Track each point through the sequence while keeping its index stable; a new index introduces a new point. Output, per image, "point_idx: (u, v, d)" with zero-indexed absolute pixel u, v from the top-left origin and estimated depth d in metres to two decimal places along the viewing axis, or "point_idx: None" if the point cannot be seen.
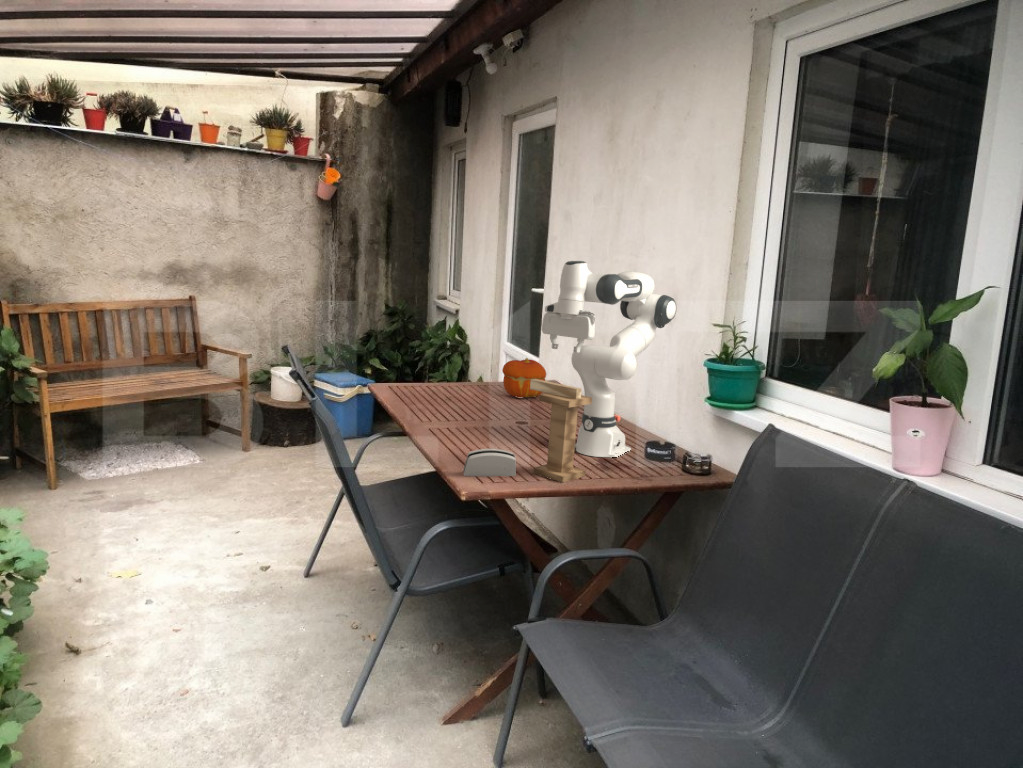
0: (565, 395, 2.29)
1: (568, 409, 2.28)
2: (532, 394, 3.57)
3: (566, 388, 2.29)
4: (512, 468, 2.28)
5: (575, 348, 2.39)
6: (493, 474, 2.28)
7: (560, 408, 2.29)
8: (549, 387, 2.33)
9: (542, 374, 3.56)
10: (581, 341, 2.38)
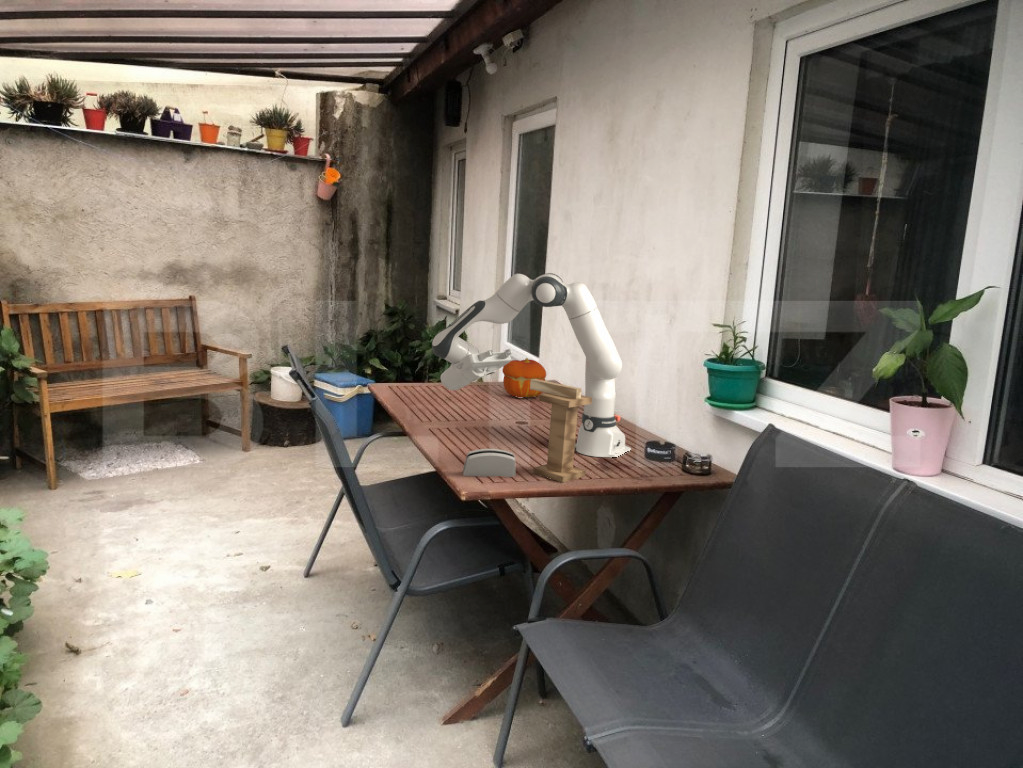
0: (565, 395, 2.29)
1: (568, 409, 2.28)
2: (532, 394, 3.57)
3: (566, 388, 2.29)
4: (511, 468, 2.28)
5: (489, 356, 2.45)
6: (493, 475, 2.28)
7: (560, 408, 2.29)
8: (549, 387, 2.33)
9: (542, 374, 3.56)
10: (480, 357, 2.45)
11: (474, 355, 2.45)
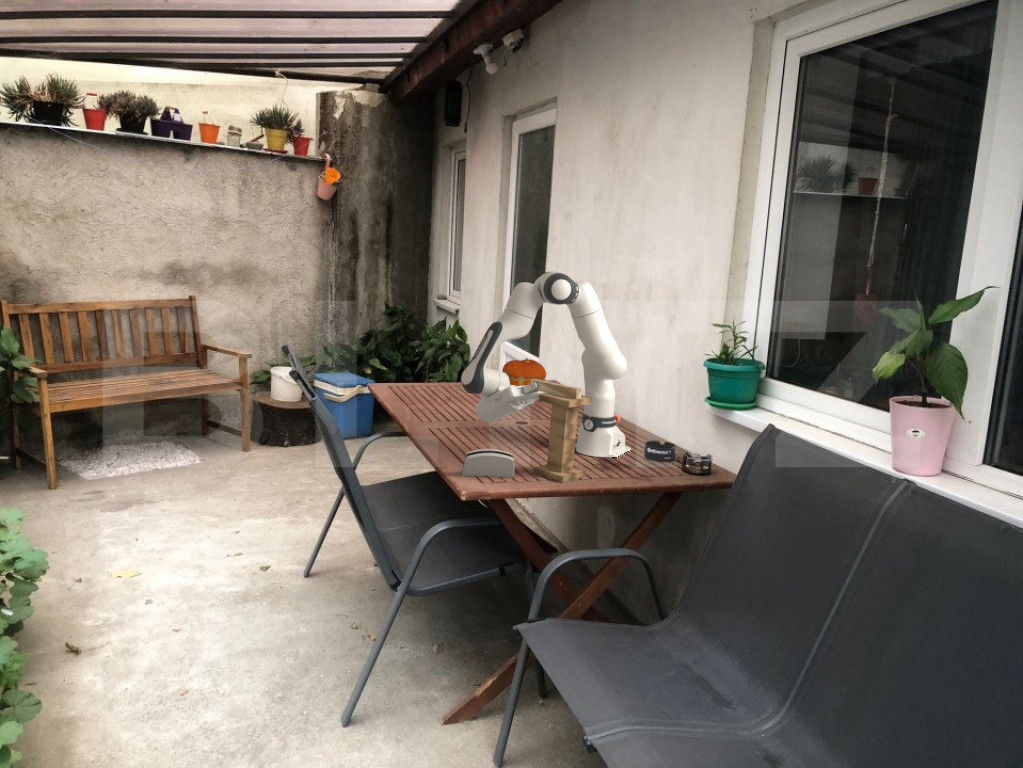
0: (565, 395, 2.29)
1: (568, 409, 2.28)
2: None
3: (566, 388, 2.29)
4: (510, 469, 2.27)
5: (535, 388, 2.36)
6: (492, 475, 2.28)
7: (560, 408, 2.29)
8: (549, 387, 2.33)
9: (542, 374, 3.56)
10: (526, 390, 2.37)
11: (513, 388, 2.34)
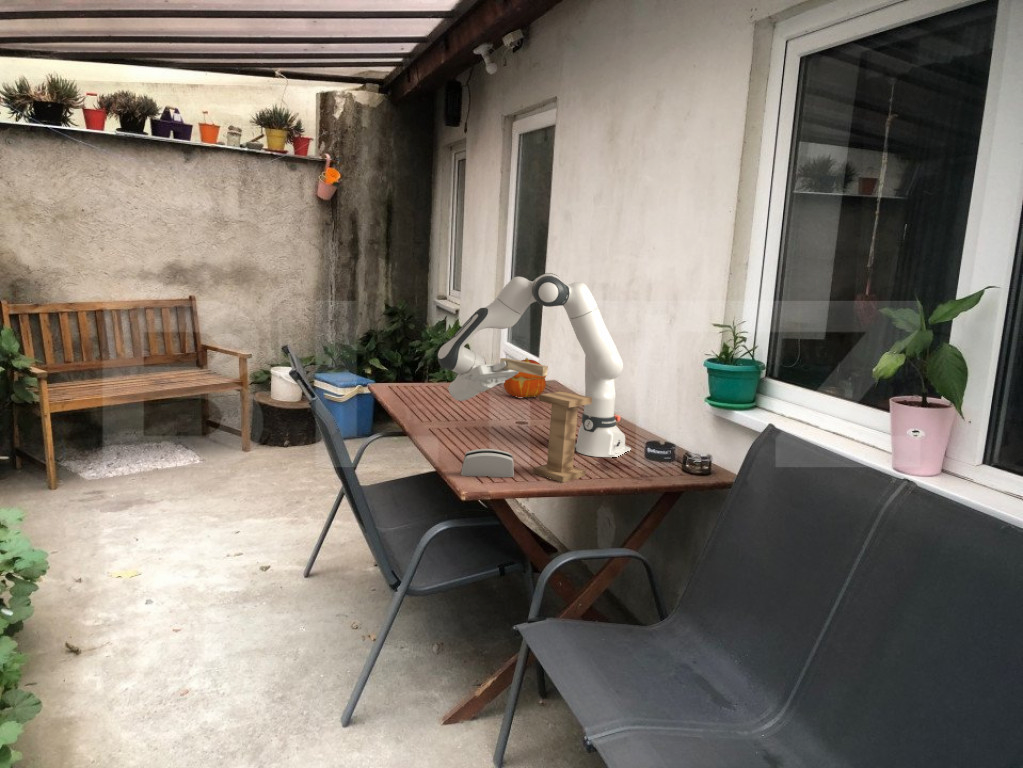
0: (532, 373, 2.37)
1: (568, 409, 2.28)
2: (532, 394, 3.57)
3: (533, 366, 2.37)
4: (509, 469, 2.27)
5: (504, 367, 2.44)
6: (491, 475, 2.28)
7: (560, 408, 2.29)
8: (517, 365, 2.41)
9: None
10: (495, 368, 2.45)
11: (483, 366, 2.42)
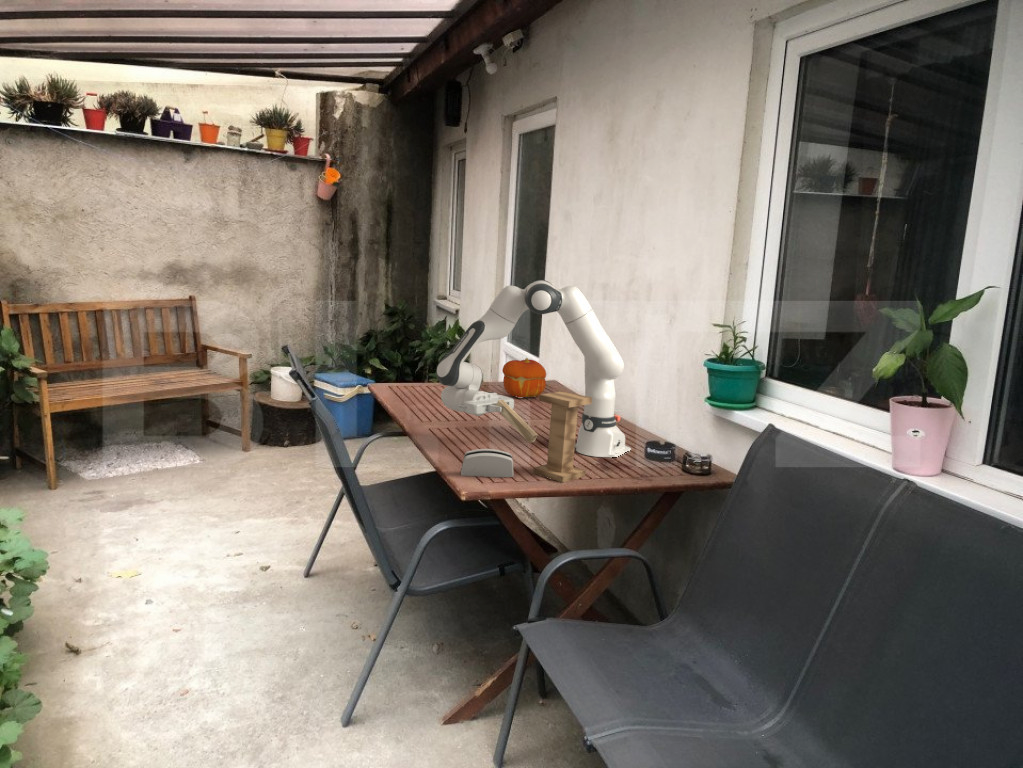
0: (522, 434, 2.42)
1: (568, 409, 2.28)
2: (532, 394, 3.57)
3: (525, 429, 2.41)
4: (509, 469, 2.27)
5: None
6: (490, 475, 2.27)
7: (560, 408, 2.29)
8: (511, 418, 2.45)
9: (542, 374, 3.56)
10: (490, 409, 2.48)
11: (479, 406, 2.45)
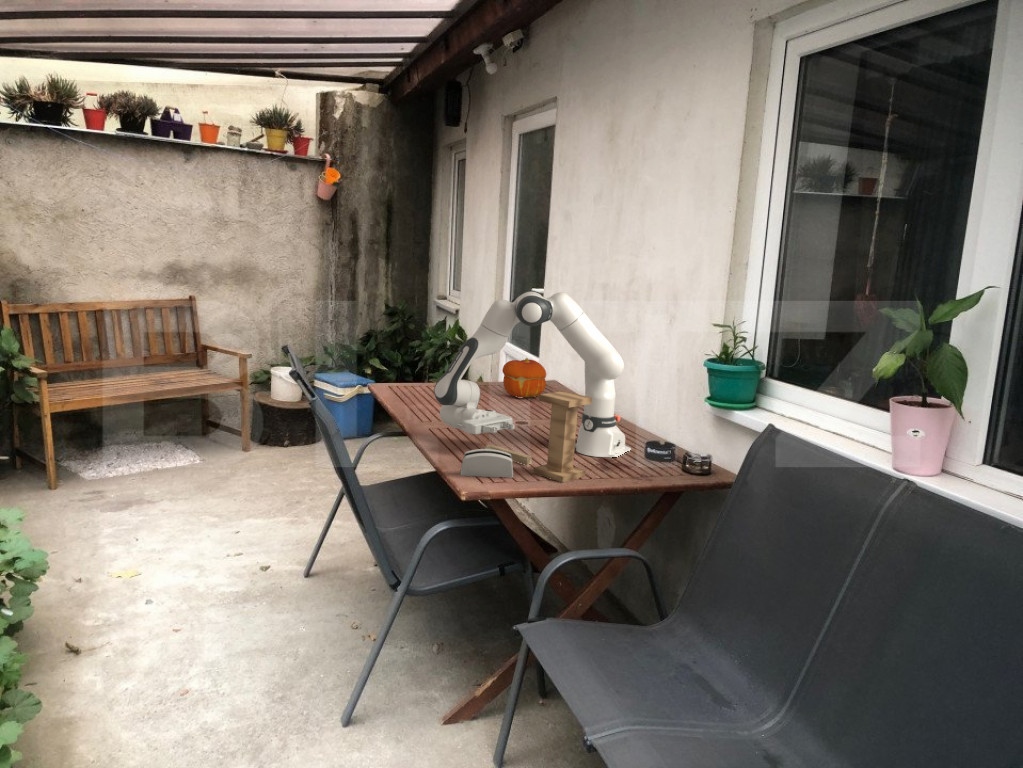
0: None
1: (568, 409, 2.28)
2: (532, 394, 3.57)
3: (518, 456, 2.45)
4: (508, 469, 2.26)
5: None
6: (490, 475, 2.27)
7: (560, 408, 2.29)
8: None
9: (542, 374, 3.56)
10: (484, 430, 2.48)
11: (478, 426, 2.46)
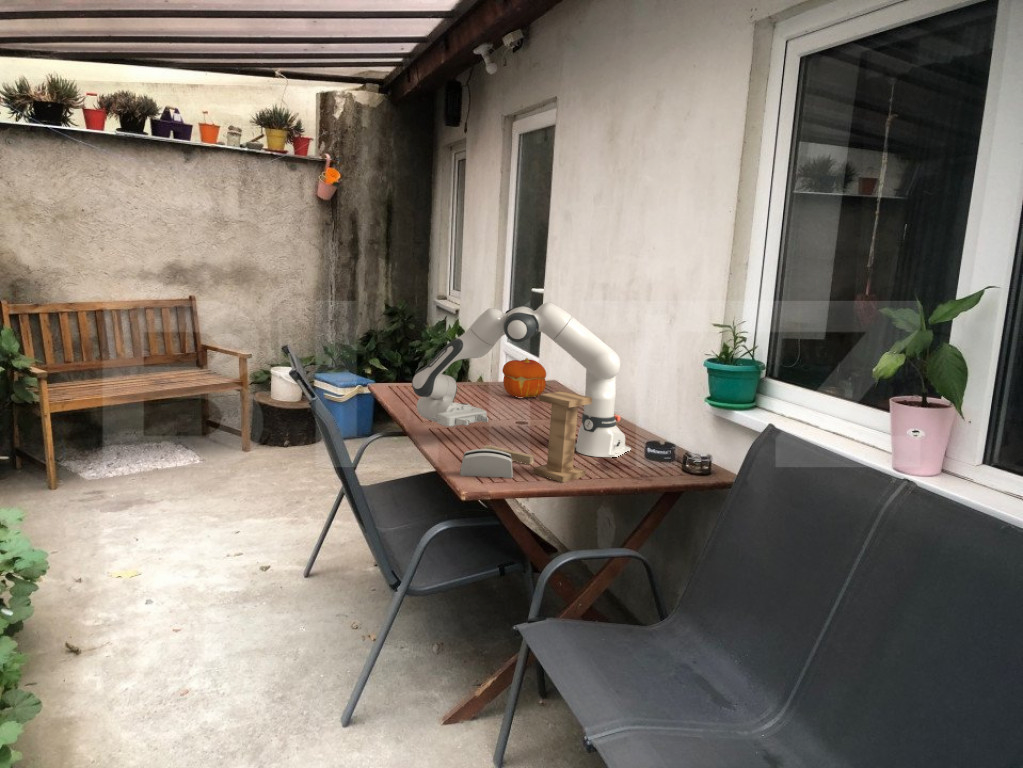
0: None
1: (568, 409, 2.28)
2: (532, 394, 3.57)
3: (519, 455, 2.45)
4: (508, 469, 2.26)
5: None
6: (489, 475, 2.27)
7: (560, 408, 2.29)
8: None
9: (542, 374, 3.56)
10: (457, 422, 2.56)
11: (452, 419, 2.55)
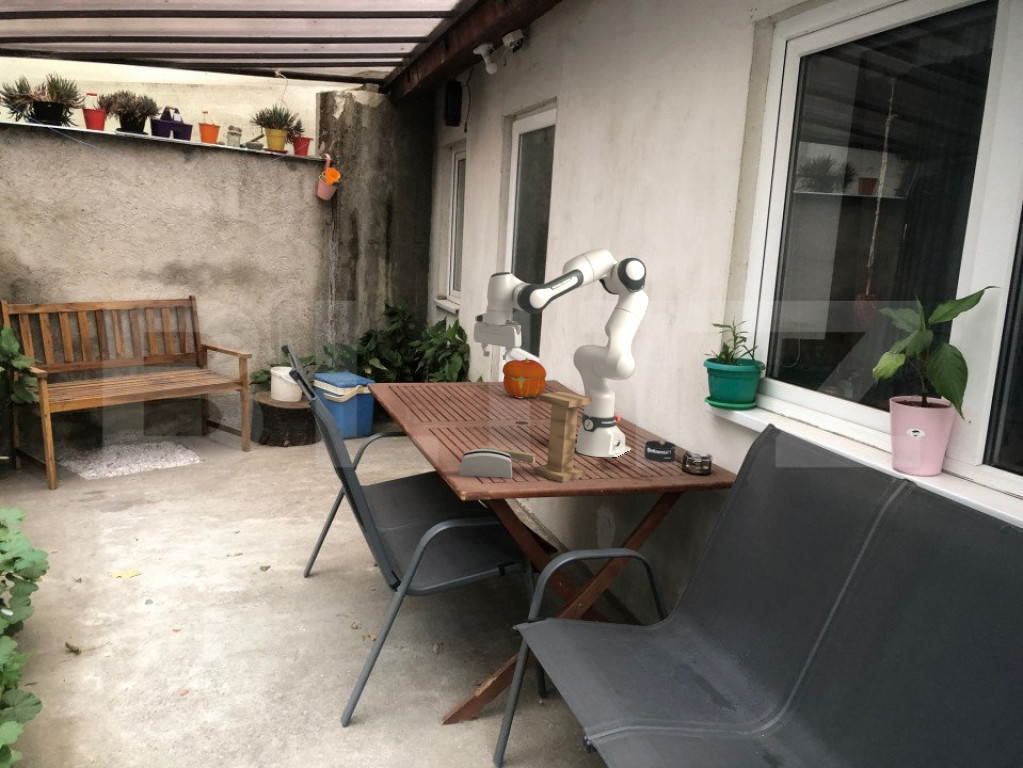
0: None
1: (568, 409, 2.28)
2: (532, 394, 3.57)
3: (521, 455, 2.46)
4: (507, 469, 2.26)
5: (504, 356, 2.51)
6: (489, 475, 2.27)
7: (560, 408, 2.29)
8: None
9: (542, 374, 3.56)
10: (509, 350, 2.50)
11: None
